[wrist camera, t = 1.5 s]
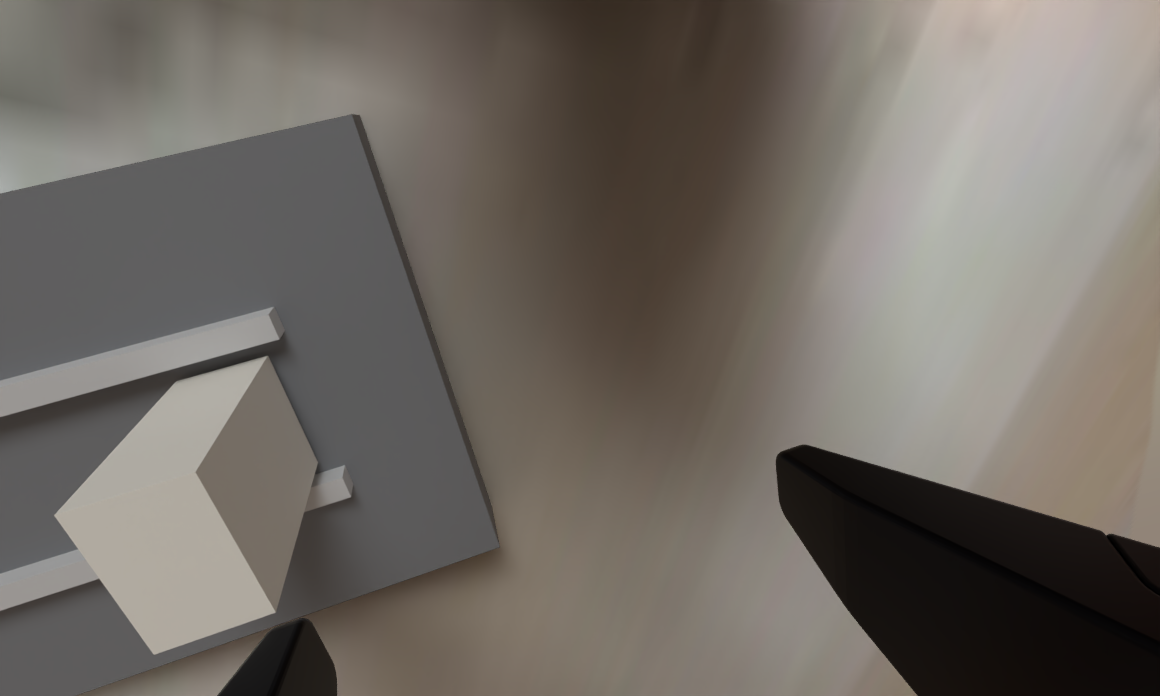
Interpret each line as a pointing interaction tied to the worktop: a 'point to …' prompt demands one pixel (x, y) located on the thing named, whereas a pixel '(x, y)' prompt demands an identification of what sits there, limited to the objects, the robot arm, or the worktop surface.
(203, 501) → the slider paddle
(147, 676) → the worktop surface
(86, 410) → the panel
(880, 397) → the worktop surface
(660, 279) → the worktop surface
